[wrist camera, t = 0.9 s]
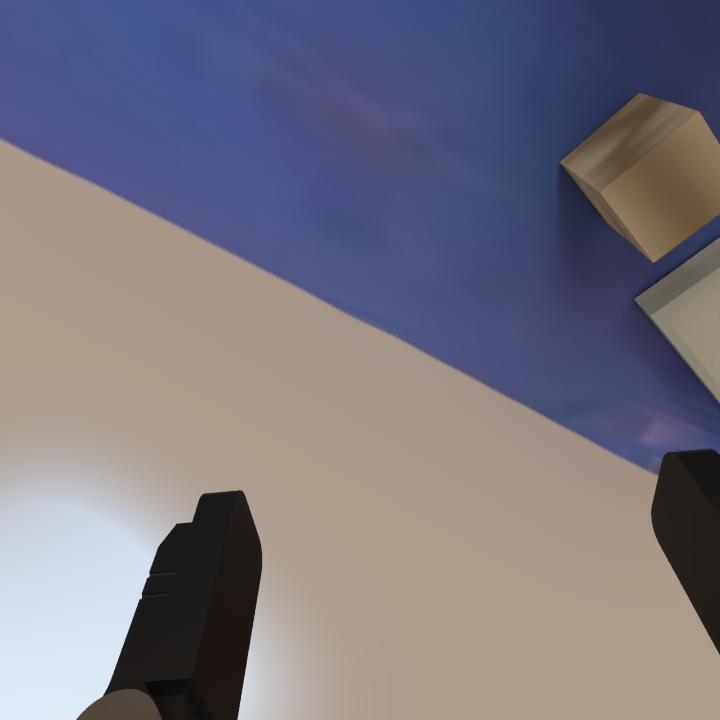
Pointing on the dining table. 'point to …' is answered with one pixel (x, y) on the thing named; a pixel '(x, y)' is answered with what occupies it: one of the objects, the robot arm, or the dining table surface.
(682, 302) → the dish
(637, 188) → the birch block
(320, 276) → the dining table surface
